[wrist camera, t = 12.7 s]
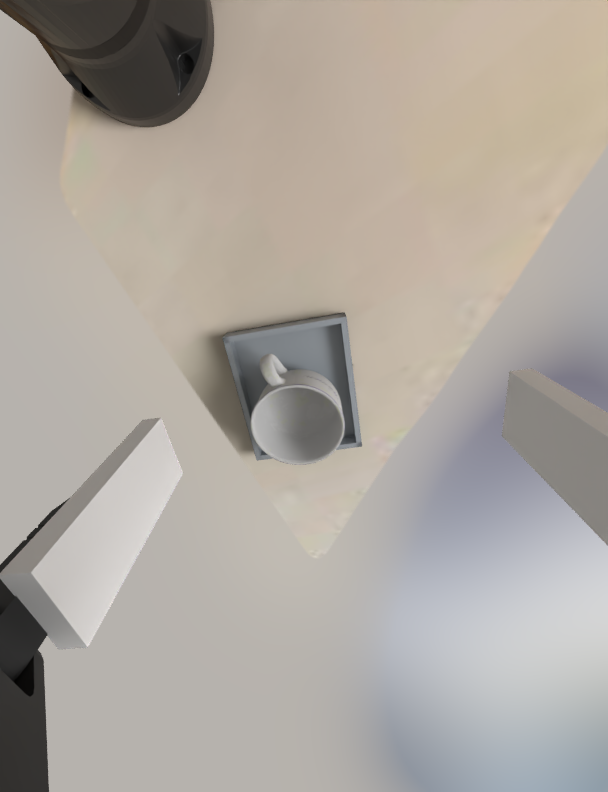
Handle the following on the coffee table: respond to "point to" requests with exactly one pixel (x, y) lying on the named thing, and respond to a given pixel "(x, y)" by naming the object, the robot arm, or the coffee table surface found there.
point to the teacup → (296, 414)
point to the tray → (296, 364)
